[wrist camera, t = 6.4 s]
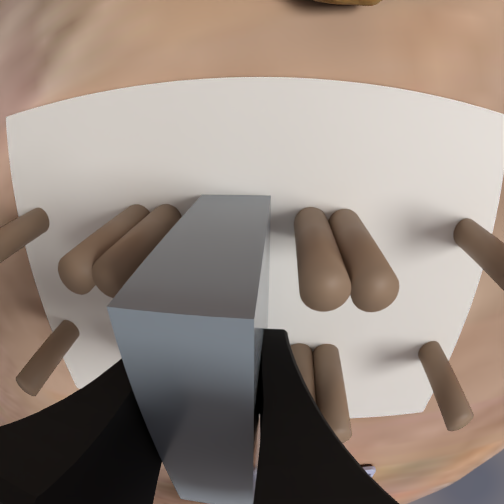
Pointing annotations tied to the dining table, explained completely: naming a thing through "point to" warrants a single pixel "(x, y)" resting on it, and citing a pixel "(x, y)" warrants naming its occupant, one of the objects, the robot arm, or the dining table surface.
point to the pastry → (351, 2)
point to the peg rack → (273, 222)
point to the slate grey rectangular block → (201, 344)
